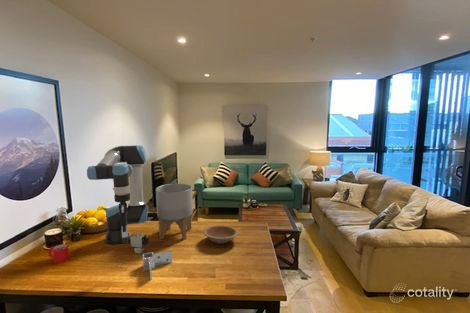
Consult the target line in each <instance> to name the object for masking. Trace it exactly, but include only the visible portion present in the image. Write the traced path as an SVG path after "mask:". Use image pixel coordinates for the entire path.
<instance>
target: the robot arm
mask: <svg viewBox="0 0 470 313" xmlns="http://www.w3.org/2000/svg"><path fill="white" fill-rule="evenodd" d="M146 162H147V154H146V150H145V147H144V146H143V145H119V146H115V147H112V148H110V149H109V150H107V151H106V152H105V153H104V157H103V158H102V159H101V160H100V161H99V163H97V164H96V165H89V166H88V167H87V169H86V176H87V179H88V180H91V181H99V180H112V182H113V187H112V191H113V193H114V195H113V197H114V202H116V203H118V204H116V205H113V206H111V207H109V208H107V209H106V211H105V218H106V228H107V229H106V233H105V237H104V240H105V243H106V244H108V245H117V244H121V243H122V244H123V242H122V238H124V237H128V238H129V237H130V233H129V231H128V225H134V224H135V225H136V224H138V225H139V224H143V223H144V224H145V223H146V222H147V218H148V212H149V206H148V205H146V204H147V203H146V202H145V201H144V192H143V191H144V186H143V185H144V184H143V166H145V163H146ZM128 201H129V203H128ZM119 212H120V214H119ZM126 212H127V214H126ZM126 218H127V224H126ZM127 233H128V235H127Z"/></svg>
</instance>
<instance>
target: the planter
mask: <svg viewBox="0 0 470 313" xmlns="http://www.w3.org/2000/svg"><path fill="white" fill-rule="evenodd" d="M155 195H156V196H155V198H156V215H157V217H158V232H159V236H158V237H159V240H164V239H165V233H166V232H167V230H169V231H170V230H171V227H172V226H171V225H172V224H174V223H176V224H177V226H178V228H179V230H180V233H181V239H182V240H184V241H185V240H187V230H188V231H190V230H192V215H193V213H194V212H193V211H194V210H193V209H194V205H193V186H192V185H191V184H187V183H180V182H179V183H176V182H175V183H168V184H162V185H160V186H157V187H156V189H155Z"/></svg>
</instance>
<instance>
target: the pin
mask: <svg viewBox="0 0 470 313" xmlns="http://www.w3.org/2000/svg"><path fill="white" fill-rule="evenodd" d="M119 214H120V212H119ZM126 214H127V212H126ZM126 224H127V218H126ZM127 225H128V224H127ZM128 233H129V232H128ZM128 233H127V235H128ZM126 243H128V237H124V238H122V244H126Z"/></svg>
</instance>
